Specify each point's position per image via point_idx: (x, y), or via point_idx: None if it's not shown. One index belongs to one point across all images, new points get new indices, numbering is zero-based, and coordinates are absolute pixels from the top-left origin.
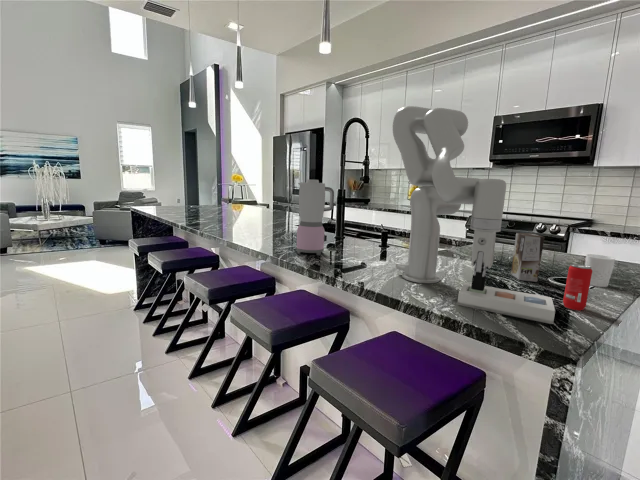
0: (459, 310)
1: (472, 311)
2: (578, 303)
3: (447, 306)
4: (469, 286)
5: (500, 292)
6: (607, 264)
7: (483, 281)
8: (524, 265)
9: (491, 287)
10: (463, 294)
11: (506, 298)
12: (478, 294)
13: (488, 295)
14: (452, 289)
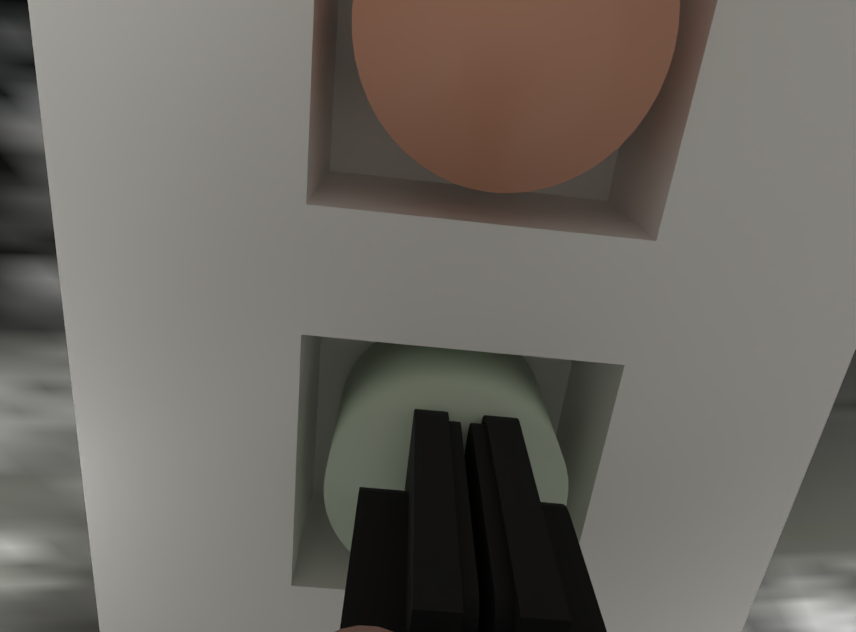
0: (841, 524)
1: (830, 412)
2: None
3: (753, 619)
4: (293, 576)
5: (435, 121)
6: None
7: (545, 554)
8: None
9: (82, 262)
10: (739, 621)
11: (740, 19)
12: (687, 465)
13: (679, 330)
14: (90, 615)
